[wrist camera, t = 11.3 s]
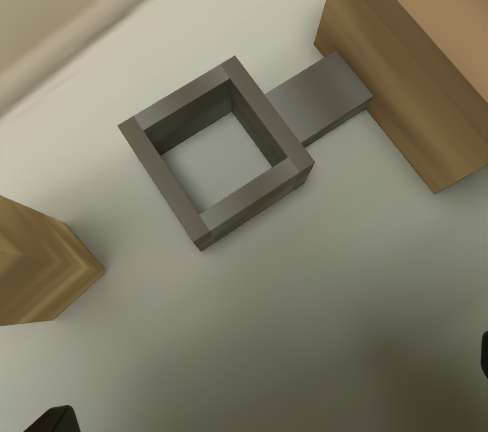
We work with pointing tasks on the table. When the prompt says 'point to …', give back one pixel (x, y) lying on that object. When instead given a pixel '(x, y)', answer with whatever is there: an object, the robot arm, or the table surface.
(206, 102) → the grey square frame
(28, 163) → the table surface
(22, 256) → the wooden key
